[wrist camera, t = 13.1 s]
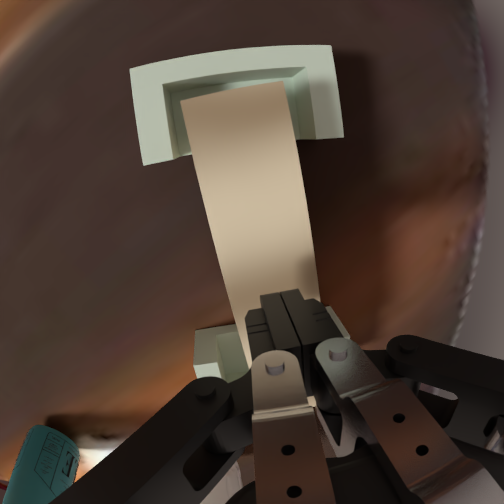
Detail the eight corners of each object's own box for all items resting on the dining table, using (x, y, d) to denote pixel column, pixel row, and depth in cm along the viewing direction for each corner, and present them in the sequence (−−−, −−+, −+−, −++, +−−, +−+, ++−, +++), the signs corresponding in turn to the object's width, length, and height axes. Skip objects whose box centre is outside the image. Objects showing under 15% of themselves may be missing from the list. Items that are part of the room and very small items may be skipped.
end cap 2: (330, 356, 24) (346, 388, 21) (209, 379, 24) (210, 415, 20) (330, 305, 23) (350, 335, 19) (195, 330, 22) (193, 365, 18)
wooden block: (191, 114, 16) (180, 101, 11) (261, 99, 16) (283, 80, 11) (252, 358, 22) (264, 419, 17) (305, 345, 22) (329, 402, 17)
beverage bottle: (23, 414, 24) (-30, 555, 5) (62, 411, 24) (11, 579, 5) (56, 450, 26) (23, 583, 8) (97, 449, 26) (70, 602, 8)
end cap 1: (146, 82, 16) (129, 68, 12) (308, 61, 17) (330, 45, 13) (157, 160, 18) (143, 165, 14) (319, 137, 18) (344, 137, 15)
